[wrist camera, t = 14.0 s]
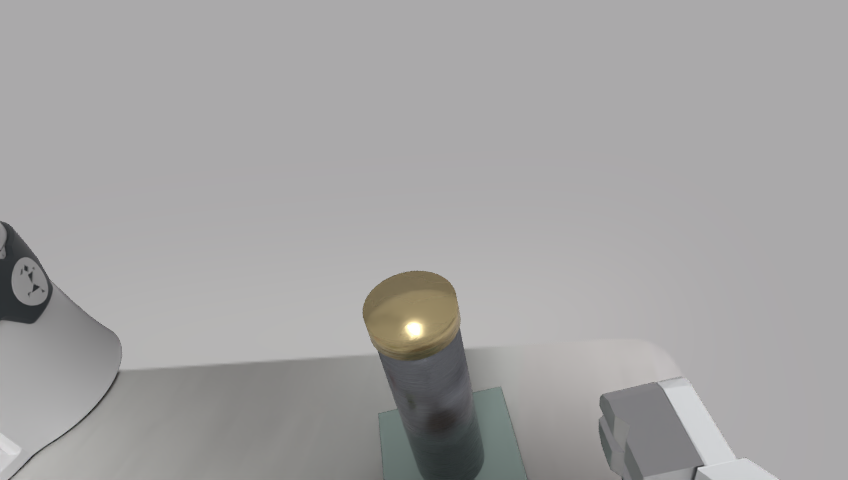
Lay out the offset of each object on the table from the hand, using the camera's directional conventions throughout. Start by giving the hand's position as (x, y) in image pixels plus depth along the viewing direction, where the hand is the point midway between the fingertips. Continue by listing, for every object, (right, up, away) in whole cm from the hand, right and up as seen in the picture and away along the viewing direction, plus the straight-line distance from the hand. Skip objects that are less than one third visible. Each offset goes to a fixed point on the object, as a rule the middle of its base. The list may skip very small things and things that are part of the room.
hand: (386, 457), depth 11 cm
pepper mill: (+2, -10, +28) cm, 30 cm away
